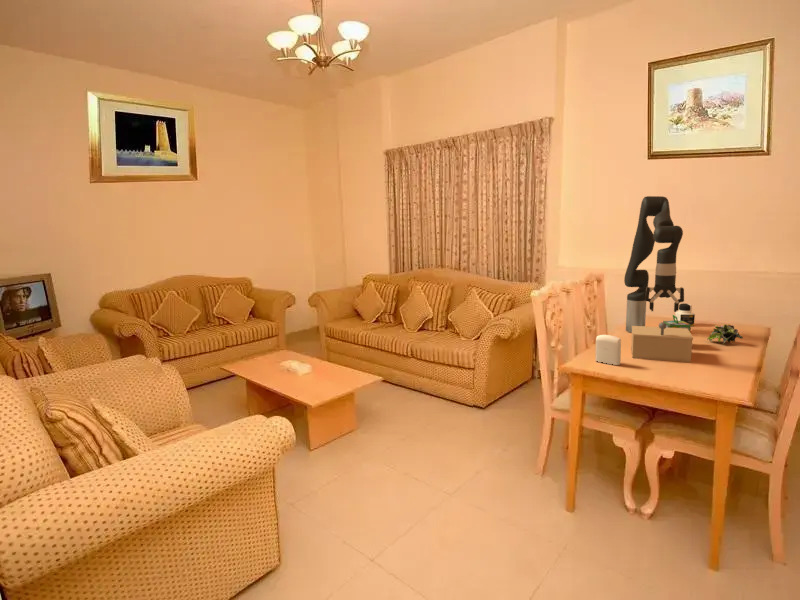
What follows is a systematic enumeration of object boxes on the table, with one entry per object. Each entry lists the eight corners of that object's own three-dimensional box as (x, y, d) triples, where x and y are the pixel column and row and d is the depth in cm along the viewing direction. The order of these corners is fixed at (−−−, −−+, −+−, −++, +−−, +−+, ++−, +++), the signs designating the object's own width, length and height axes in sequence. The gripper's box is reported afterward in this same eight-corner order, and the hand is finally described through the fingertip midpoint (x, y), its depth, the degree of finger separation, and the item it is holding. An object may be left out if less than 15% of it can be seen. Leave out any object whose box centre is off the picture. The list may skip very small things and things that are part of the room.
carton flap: (631, 327, 214) (632, 314, 212) (687, 330, 204) (688, 316, 203) (633, 335, 199) (633, 321, 198) (693, 339, 190) (694, 324, 189)
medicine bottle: (680, 326, 249) (681, 305, 247) (674, 323, 256) (675, 302, 254) (694, 326, 248) (695, 305, 245) (688, 323, 254) (689, 302, 252)
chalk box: (690, 348, 210) (692, 317, 207) (668, 348, 212) (670, 317, 209) (682, 343, 219) (684, 313, 216) (661, 343, 221) (662, 313, 218)
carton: (631, 348, 215) (632, 327, 214) (685, 351, 206) (686, 330, 204) (632, 357, 201) (633, 336, 199) (690, 362, 192) (692, 339, 190)
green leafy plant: (727, 353, 218) (747, 334, 213) (723, 354, 210) (743, 335, 205) (706, 336, 224) (725, 318, 219) (701, 337, 217) (721, 318, 211)
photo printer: (593, 361, 198) (594, 334, 196) (597, 359, 201) (598, 332, 199) (618, 366, 191) (619, 338, 189) (621, 363, 194) (623, 336, 192)
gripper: (684, 272, 192) (681, 310, 194) (645, 272, 198) (644, 308, 200) (686, 275, 185) (684, 313, 188) (647, 274, 191) (645, 312, 194)
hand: (663, 311), depth 194 cm, fingers open, 8 cm apart
